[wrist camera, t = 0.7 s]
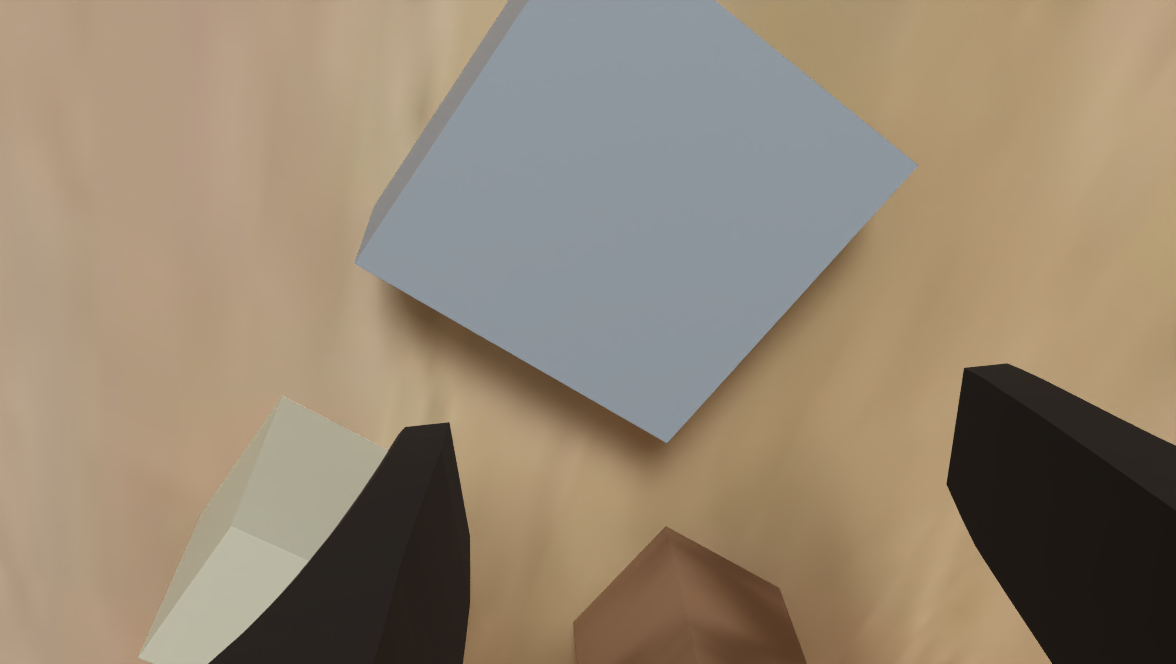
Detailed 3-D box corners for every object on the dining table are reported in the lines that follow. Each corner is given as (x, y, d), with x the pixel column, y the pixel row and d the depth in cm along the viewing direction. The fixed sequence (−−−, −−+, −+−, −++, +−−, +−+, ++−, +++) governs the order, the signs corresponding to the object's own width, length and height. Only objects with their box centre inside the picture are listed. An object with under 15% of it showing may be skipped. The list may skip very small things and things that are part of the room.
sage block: (435, 472, 24) (420, 610, 20) (350, 576, 26) (319, 727, 22) (283, 394, 23) (231, 525, 19) (203, 510, 24) (138, 657, 20)
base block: (857, 116, 21) (918, 165, 18) (646, 364, 24) (667, 443, 21) (578, -110, 18) (593, -98, 15) (376, 200, 21) (354, 263, 18)
